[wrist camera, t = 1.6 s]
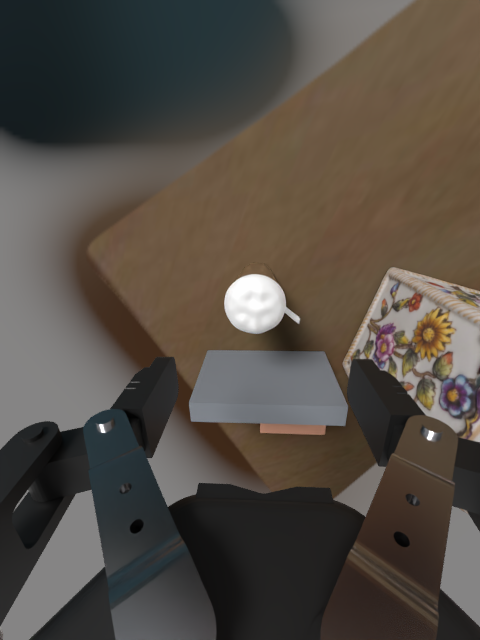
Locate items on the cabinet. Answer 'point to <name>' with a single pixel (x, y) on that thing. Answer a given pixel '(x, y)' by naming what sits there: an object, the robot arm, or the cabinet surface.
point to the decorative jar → (427, 345)
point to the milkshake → (256, 300)
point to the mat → (293, 429)
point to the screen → (268, 389)
